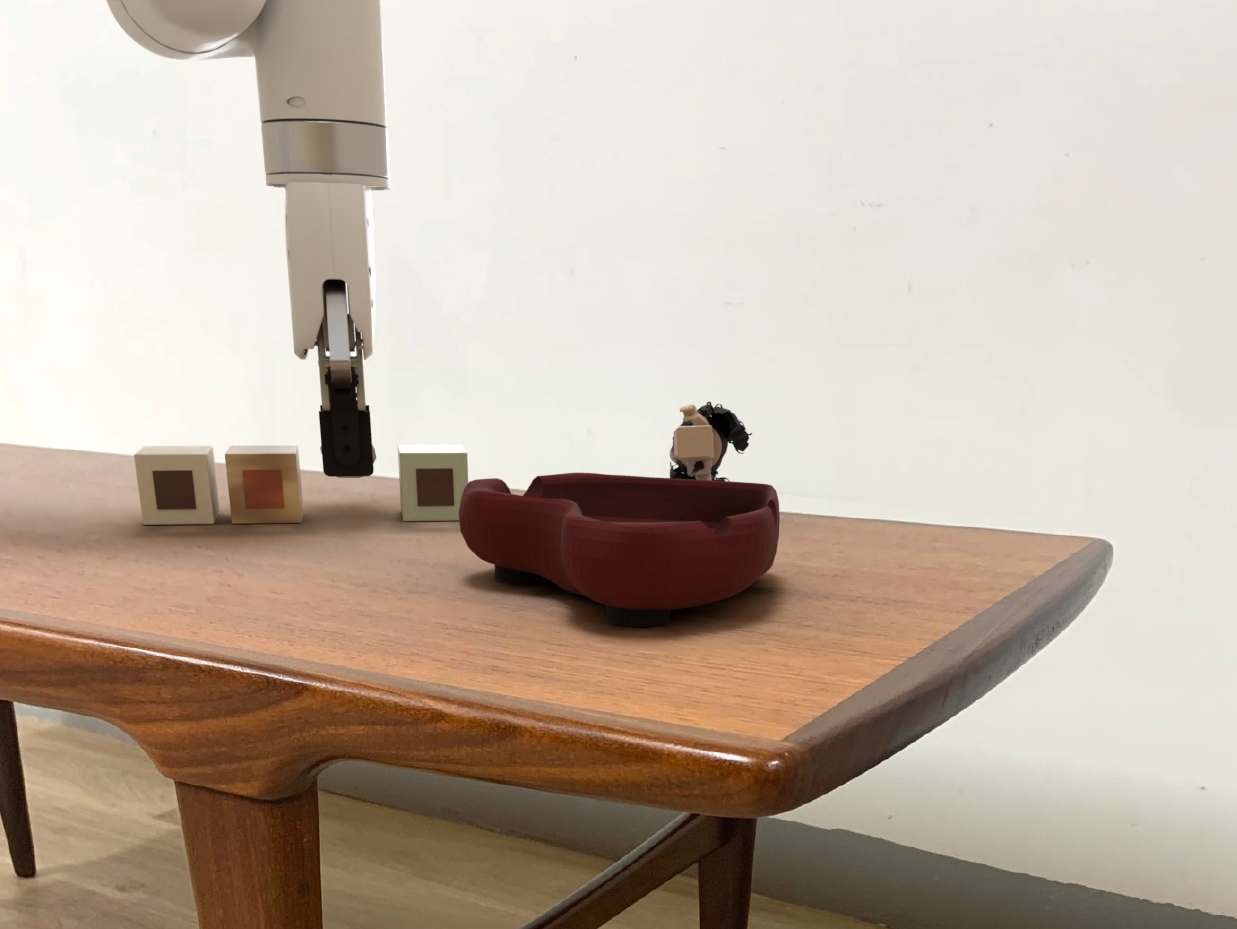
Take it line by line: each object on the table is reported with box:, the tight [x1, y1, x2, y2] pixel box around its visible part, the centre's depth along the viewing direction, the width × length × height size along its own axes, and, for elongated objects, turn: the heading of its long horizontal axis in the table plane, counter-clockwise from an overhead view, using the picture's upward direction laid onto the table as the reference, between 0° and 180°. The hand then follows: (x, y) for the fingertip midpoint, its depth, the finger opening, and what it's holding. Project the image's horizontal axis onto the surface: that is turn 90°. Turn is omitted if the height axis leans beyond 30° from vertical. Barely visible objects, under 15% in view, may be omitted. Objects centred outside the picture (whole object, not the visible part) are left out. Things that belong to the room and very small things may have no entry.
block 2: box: [224, 444, 304, 525], centre depth 88 cm, size 4×4×4 cm
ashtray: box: [459, 472, 781, 628], centre depth 70 cm, size 18×16×5 cm
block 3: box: [397, 444, 469, 522], centre depth 90 cm, size 4×4×4 cm
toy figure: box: [669, 401, 753, 481], centre depth 96 cm, size 7×6×15 cm
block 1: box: [133, 445, 221, 526], centre depth 87 cm, size 4×4×4 cm
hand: (348, 468), depth 89 cm, fingers closed on game die, 3 cm apart
